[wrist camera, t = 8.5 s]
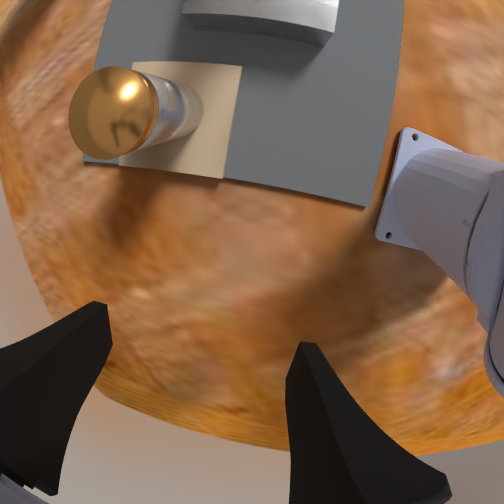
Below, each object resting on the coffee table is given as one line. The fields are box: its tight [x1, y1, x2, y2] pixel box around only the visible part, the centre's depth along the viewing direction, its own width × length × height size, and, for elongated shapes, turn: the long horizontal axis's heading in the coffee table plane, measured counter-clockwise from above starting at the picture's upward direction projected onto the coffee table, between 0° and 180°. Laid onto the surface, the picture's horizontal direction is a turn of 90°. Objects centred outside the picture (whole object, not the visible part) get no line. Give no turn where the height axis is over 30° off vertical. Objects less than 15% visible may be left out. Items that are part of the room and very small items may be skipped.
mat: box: [83, 0, 404, 208], centre depth 14 cm, size 20×18×1 cm
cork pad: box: [119, 61, 243, 179], centre depth 15 cm, size 7×7×1 cm
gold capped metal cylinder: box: [69, 66, 204, 160], centre depth 11 cm, size 3×3×8 cm
